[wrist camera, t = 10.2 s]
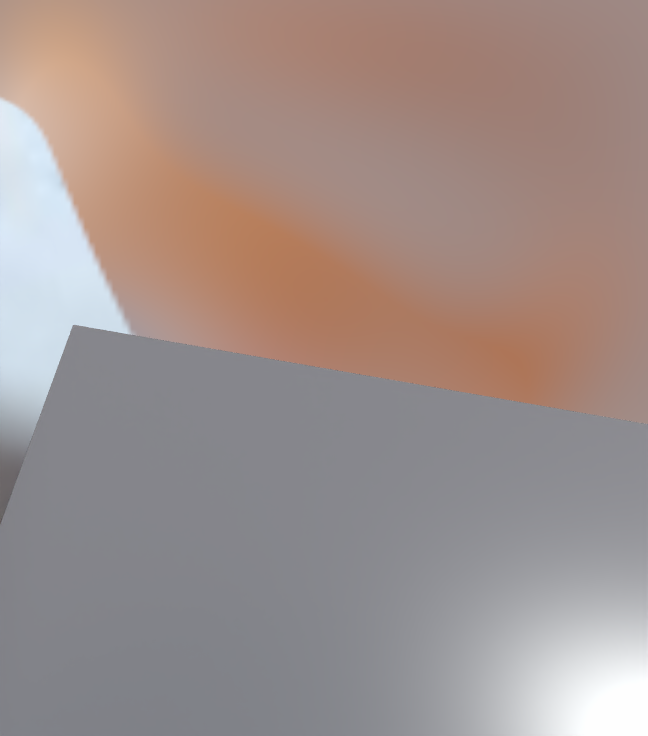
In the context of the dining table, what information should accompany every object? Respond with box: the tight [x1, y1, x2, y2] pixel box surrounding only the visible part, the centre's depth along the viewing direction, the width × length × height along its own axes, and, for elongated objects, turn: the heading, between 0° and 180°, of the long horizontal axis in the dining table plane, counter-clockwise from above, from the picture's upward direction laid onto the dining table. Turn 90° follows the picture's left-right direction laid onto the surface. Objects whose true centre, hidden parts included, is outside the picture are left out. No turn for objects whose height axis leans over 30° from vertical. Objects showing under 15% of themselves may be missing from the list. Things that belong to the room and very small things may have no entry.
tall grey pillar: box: [0, 325, 648, 736], centre depth 8 cm, size 5×5×12 cm
